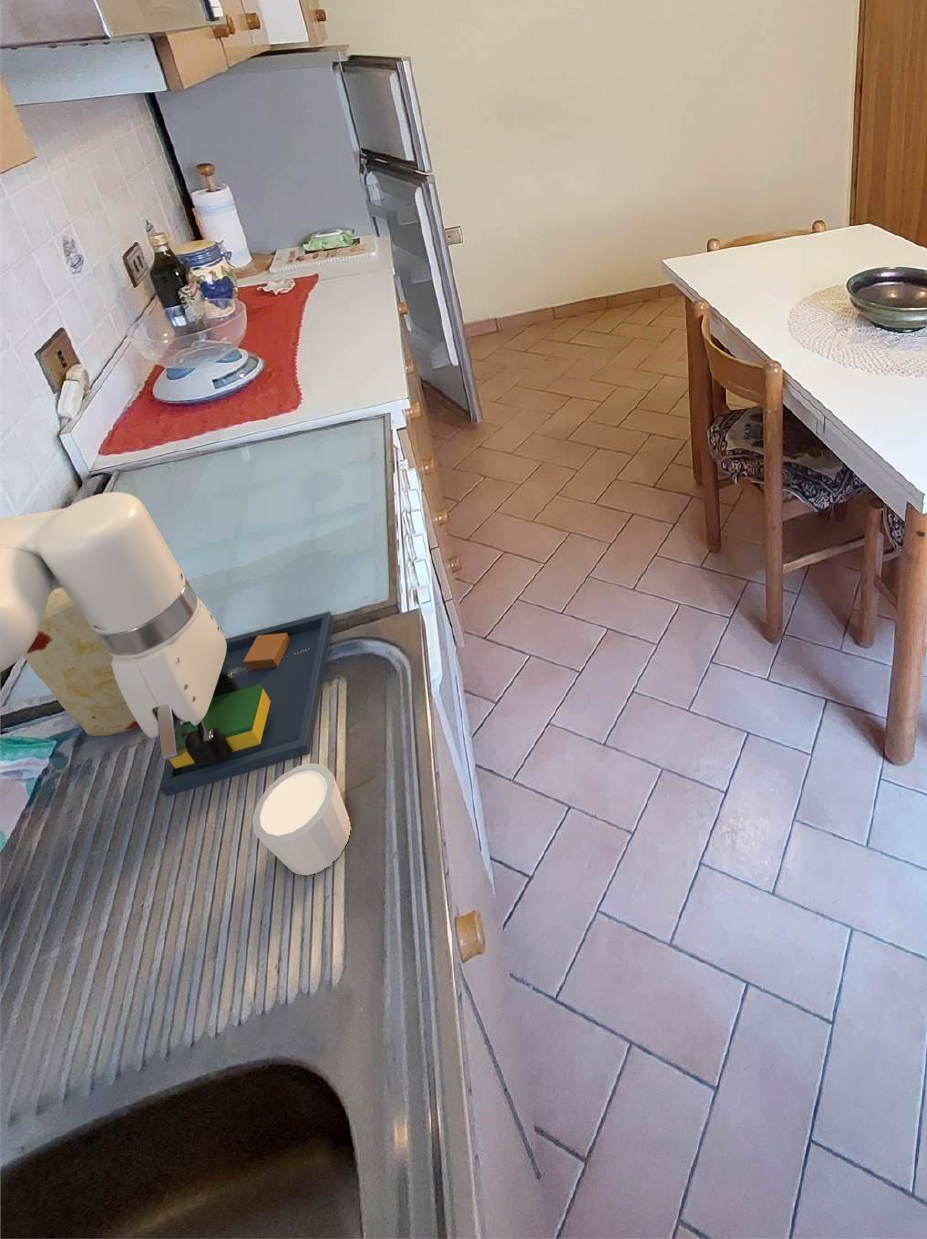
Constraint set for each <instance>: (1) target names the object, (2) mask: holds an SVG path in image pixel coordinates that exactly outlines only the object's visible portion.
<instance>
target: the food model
mask: <svg viewBox="0 0 927 1239" xmlns="http://www.w3.org/2000/svg"><path fill="white" fill-rule="evenodd" d="M23 657H24V658H25V660H26V661H27V663H28V664H29V666H30V668H31V669H32V670H33V672H34V673H35V674H36V676H37V677H38V678H39V679H40V680H41V681H42V683H44V684H45V686H46V687H47V688H48V689H49V690H50V692H51V693H52V694H53V697H55V699H56V701H58V703H59V704H60V705H61V707H62V708H63V709H64V710H65V711H66V712H67V713H68V714H69V715H70V716H71V717H72V718H73V719H74V720H76V722H77V723H78V724H79V725H80V726H81V728H82V729H83V731H84V732H85V733H86V734H87V735H89V736H92V737H93V736H94V737H100V736H102V737H103V736H110V735H116V734H120V733H124V732H128V731H131V730H134V729H136V728H138V727H140V726H139V724H138V723H137V721H136V719H135V718H134V716H133V714H132V713H131V711H130V709H129V707H128V705H127V703H126V701H125V700H124V698H123V696H122V693H121V691H120V689H119V687H118V684H117V681H116V679H115V676H114V672H113V669H112V665H111V663H112V659H113V657H112V656H111V655H110V654H109V653H108V651H107V650H106V649H105V647H104V646H103V644H102V643H101V641H100V640H99V639H98V637H97V636H96V634H95V633H94V631H93V630H92V628H91V627H90V625H89V624H88V622H87V621H86V620H85V618H84V617H83V615H82V614H81V613H80V611H79V610H78V608H77V607H76V606H75V604H74V603H73V601H72V600H71V599H70V597H69V596H68V594H67V593H66V591H65V590H64V589H63V588H57V589H55V590H54V591H53V592H52V593H51V594H50V595H49V599H48V602H47V606H46V609H45V612H44V616H43V619H42V622H41V625H40V628H39V630H38V633H37V636H36V638H35V640H34V642H33V643H32V645H31V646H30V648H29V649H28V651H27V652H26V653H25V654H24V655H23Z"/></svg>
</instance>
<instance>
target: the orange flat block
mask: <svg viewBox="0 0 927 1239" xmlns="http://www.w3.org/2000/svg"><path fill="white" fill-rule="evenodd" d="M290 642H291V640H290V638H289V636H288V634H287V633H281V634H269V635H258V636H257V638H256V639H255V641H254V643H253V645H252V646H251V648H250V650H249V652H248V654H247V655H246V657H245V659H244V661H243V663H244V664H245V666H246V668H247V669H261V668H273V667H278V665H279V663H280V661H281V659H282V657H283V656H284V654H285V652H286V650H287V648H288V646H289V644H290Z"/></svg>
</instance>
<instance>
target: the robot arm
mask: <svg viewBox="0 0 927 1239" xmlns="http://www.w3.org/2000/svg"><path fill="white" fill-rule="evenodd" d="M57 588H63V589H64V590H65V591H66V593H67V594H68V596H69V597H70V599H71V600H72V601H73V603H74V604H75V606H76V607H77V608H78V610H79V611H80V613H81V614H82V615H83V617H84V618H85V620H86V621H87V622H88V624H89V625H90V627H91V628H92V630H93V631H94V633H95V634H96V636H97V637H98V639H99V640H100V641H101V643H102V644H103V646H104V647H105V649H106V650H107V651H108V653H109V654H110V655H111V656H112V657H113V659H112V663H111V665H112V669H113V672H114V676H115V679H116V681H117V684H118V687H119V689H120V691H121V693H122V696H123V698H124V700H125V701H126V703H127V705H128V707H129V709H130V711H131V713H132V714H133V716H134V718H135V719H136V721H137V723H138V724H139V726H138V727H139V728H140V729H141V730H142V732H143V733H144V734H145V735H146V736H147V737H148V738H149V739H154V738H158V737H159V741H160V752H161V759H162V760H163V761H169V759H172V758H175V757H179V756H181V755H182V754H184V753H185V752H186V751H187V752H188V754H189V755H190V756H191V758H192V759H193V761H194V762H195V764H196V765H198V766H201V765H206V764H210V763H213V762H215V761H219V760H222V759H225V758H229V757H230V756H231V753H232V749H231V748H230V746H229V744H228V743H227V741H226V740H225V738H224V737H223V735H222V733H221V732H220V730H219V729H218V728H214V729H212V726H211V723H210V720H209V717H208V714H207V711H208V708H209V705H210V702H211V699H212V697H216V696H220V695H223V694H227V693H231V692H234V691H238V690H240V688H239V686H238V685H237V683H236V681H235V680H234V678H231V679H229V678H230V677H231V676H232V668H231V666H230V665H229V664H228V663H226V657H225V655H226V650H227V643H226V640H225V639H226V638H225V635H224V633H223V628H222V626H220V625H218V622H217V621H216V619H215V618H214V616H213V615H212V613H211V612H210V611H209V609H208V608H207V606H206V605H205V604H204V602H202V600H201V599H200V598H199V597H198V595H197V594H196V593H195V591H194V589H193V587H192V586H191V584H190V582H189V581H188V579H187V577H186V575H185V574H184V573H183V571H182V569H181V567H180V565H179V564H178V562H177V560H176V558H175V556H174V554H173V552H172V551H171V550H170V547H169V546H168V544H167V542H166V541H165V539H164V537H163V536H162V534H161V532H160V530H159V529H158V527H157V526H156V524H155V522H154V520H153V518H152V516H151V515H150V513H149V511H148V509H147V508H146V507H145V505H144V504H143V501H141V500H140V499H139V498H137V497H136V496H134V495H132V494H131V493H126V492H123V491H111V492H104V493H98V494H95V495H91V496H88V497H86V498H83V499H81V500H78V501H76V502H75V503H73V504H70V505H68V506H67V507H64V508H59V509H53V510H48V511H42V512H35V513H27V514H22V515H14V516H8V517H2V518H0V673H1V672H3V671H5V670H7V669H8V668H10V667H11V666H13V665H14V664H16V663H17V662H18V661H20V659H21V658H22V657H24V654H25V653H26V652H27V651H28V649H29V648H30V646H31V645H32V643H33V642H34V640H35V638H36V636H37V633H38V630H39V628H40V625H41V622H42V619H43V616H44V612H45V609H46V606H47V602H48V599H49V595H50V594H51V593H52V592H53V591H54V590H55V589H57ZM189 723H191V724H193V725H194V726H196V725H197V726H198V729H199V730H195V731H192V732H189V733H187V731H186V728H185V726H184V725H186V724H189Z"/></svg>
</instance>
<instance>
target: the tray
mask: <svg viewBox="0 0 927 1239" xmlns="http://www.w3.org/2000/svg"><path fill="white" fill-rule="evenodd" d="M334 623H335V619H334V616H333V614H332V612H331V611H326V612H322V613H318V614H314V615H311V616H307V617H303V618H300V619H296V620H292V621H288V622H284V623H280V624H277V625H273V626H269V627H265V628H261V629H257V630H254V631H249V632H247V633H243V634H238V635H235V636H231V637H228V638H225V640H226V643H227V650H226V655H225V657H226V663H228V664H229V665H230V666H231V668H232V669H235V668H236V667H238V668H239V667H245V664H244V663H243V661H244V659H245V657H246V655H247V654H248V652H249V650H250V648H251V646H252V645H253V643H254V641H255V639H256V638H257V636H258V635H269V634H281V633H287V634H288V636H289V638H290V640H291V642H290V644H289V646H288V648H287V650H286V652H285V654H284V657H285V659H284V661H283V659H282V661H280V663H279V665H278V667H273V668H261V669H254V670H253V669H252V670H251V671H250V670H249V672H246V673H243V672H242V674H241V673H240V675H237V676H235V677H233V678H234V680H235V681H236V683H237V685H238V686H239V688H240V690H241V689H245V688H249V687H252V686H256V685H259V684H261V685H262V687H263V689H264V691H265V692H266V694H267V696H268V698H269V700H270V706H269V710H268V714H267V718H266V722H265V726H264V730H263V735H262V739H261V743H260V744H258V745H255V746H251V747H248V748H245V749H241V750H238V751H234V752H232V753H231V756H230V757H229V758H225V759H222V760H219V761H215V762H213V763H210V764H206V765H201V766H198V765H196V764H195V763H193V764H189V765H186V766H182V767H179V768H175V767H174V766H173V765H172V763H171V762H170V760H169V759H168V763H167V766H166V767H165V771H164V774H163V777H162V779H161V783H160V785H159V789H160V790H161V792H162V793H163V794H164V796H165V797H170V796H172V795H176V794H180V793H182V792H186V791H189V790H193V789H196V788H200V787H203V786H206V785H210V784H213V783H217V782H220V781H223V780H226V779H230V778H234V777H236V776H240V775H243V774H246V773H249V772H253V771H256V770H260V769H263V768H267V767H269V766H273V765H276V764H279V763H284V762H286V761H290V760H294V759H297V758H299V757H300V758H301V757H303V756H306V755H309V754H310V753H311V751H312V750H311V749H312V743H313V738H314V733H315V729H316V728H315V727H316V722H317V716H318V711H319V706H320V700H321V695H322V688H323V683H324V677H325V671H326V666H327V663H328V655H329V651H330V645H331V640H332V633H333V629H334V628H333V627H334ZM308 648H310V652H309V651H307V652H306V651H305V652H304V653H303V651H302V649H303V650H305V649H307V650H308ZM300 651H302V654H301V655H300V654H298V655H297V652H299V653H300ZM294 653H296V654H295V655H294ZM286 656H291V658H289V657H288V658H286ZM292 656H293V658H292ZM229 679H231V678H229Z"/></svg>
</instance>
